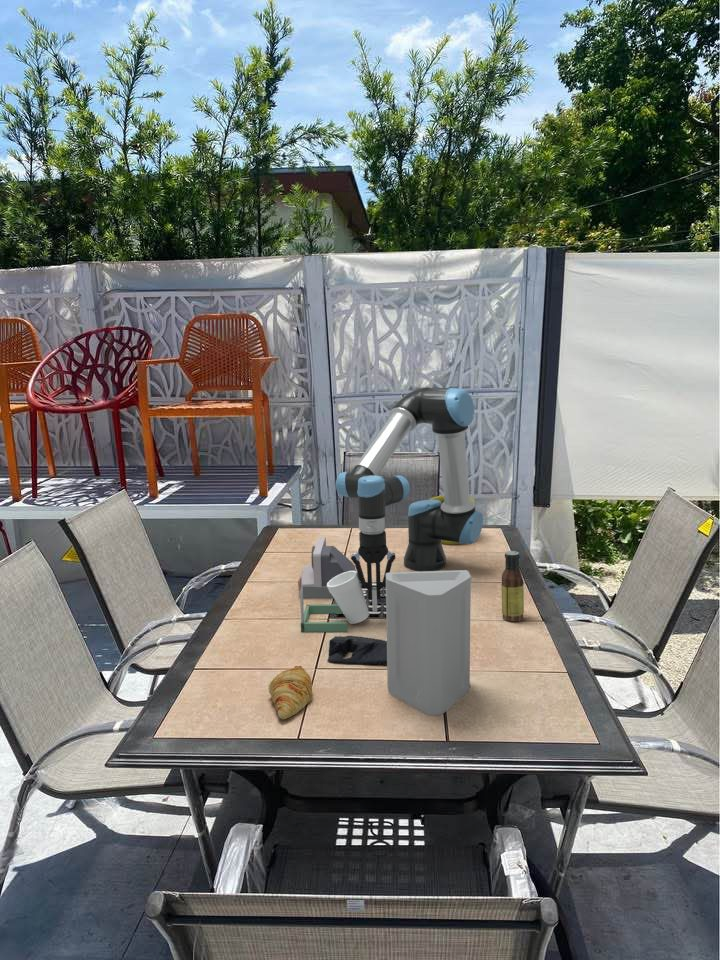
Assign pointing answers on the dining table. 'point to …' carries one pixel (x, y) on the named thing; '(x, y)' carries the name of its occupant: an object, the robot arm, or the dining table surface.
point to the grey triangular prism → (428, 638)
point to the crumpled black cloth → (357, 650)
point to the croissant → (291, 691)
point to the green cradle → (319, 609)
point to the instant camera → (323, 570)
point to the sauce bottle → (512, 588)
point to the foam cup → (349, 596)
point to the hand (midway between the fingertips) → (374, 609)
